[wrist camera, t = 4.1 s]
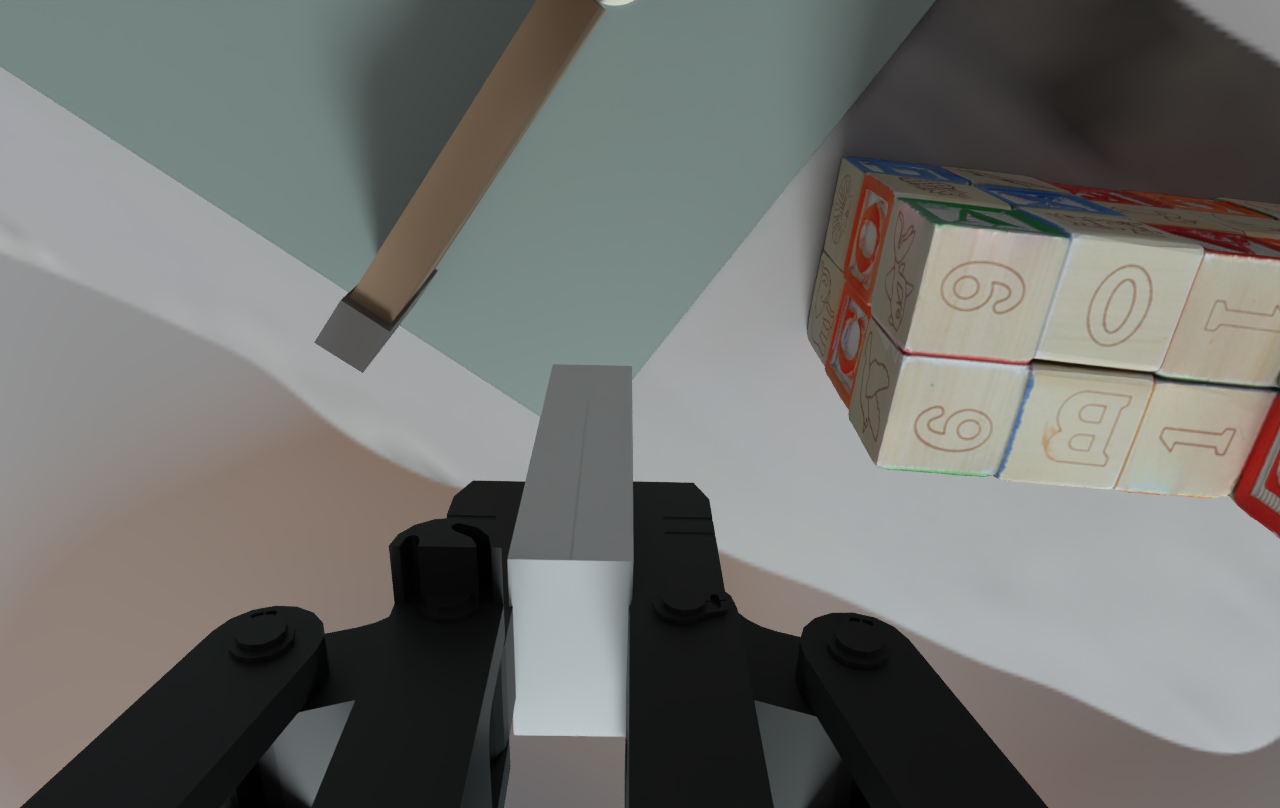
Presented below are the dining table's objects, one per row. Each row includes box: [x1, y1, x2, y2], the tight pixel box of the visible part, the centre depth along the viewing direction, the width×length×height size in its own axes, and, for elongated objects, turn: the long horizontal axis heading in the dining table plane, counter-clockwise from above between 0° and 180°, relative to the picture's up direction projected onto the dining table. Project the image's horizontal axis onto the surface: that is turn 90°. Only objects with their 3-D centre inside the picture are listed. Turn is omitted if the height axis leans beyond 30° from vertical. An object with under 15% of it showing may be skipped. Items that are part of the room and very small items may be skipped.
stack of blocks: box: [807, 157, 1280, 538], centre depth 23 cm, size 21×6×12 cm, turn 83°
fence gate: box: [314, 0, 606, 373], centre depth 23 cm, size 1×11×6 cm, turn 144°
